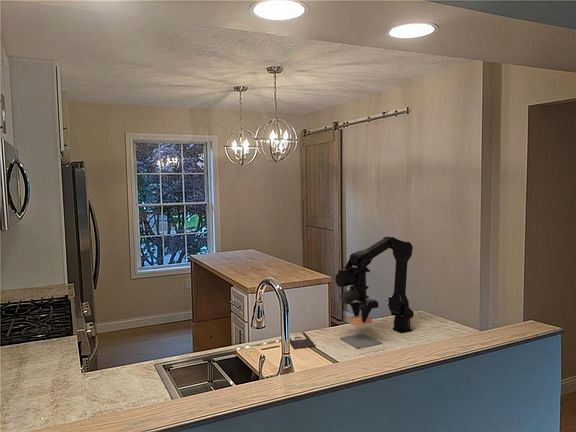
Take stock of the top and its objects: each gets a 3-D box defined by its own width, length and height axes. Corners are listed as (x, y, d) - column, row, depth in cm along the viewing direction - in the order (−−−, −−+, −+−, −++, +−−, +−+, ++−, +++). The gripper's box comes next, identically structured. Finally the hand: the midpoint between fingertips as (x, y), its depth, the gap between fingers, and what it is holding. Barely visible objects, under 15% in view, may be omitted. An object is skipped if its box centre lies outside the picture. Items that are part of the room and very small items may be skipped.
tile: (348, 323, 187) (348, 317, 187) (365, 320, 191) (364, 314, 190) (355, 326, 183) (355, 320, 183) (371, 323, 186) (371, 317, 186)
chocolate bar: (294, 347, 180) (284, 334, 198) (294, 350, 180) (284, 336, 198) (315, 345, 182) (304, 332, 200) (315, 347, 182) (304, 334, 200)
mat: (363, 334, 196) (363, 333, 196) (382, 343, 183) (382, 342, 183) (339, 338, 191) (339, 337, 191) (357, 348, 178) (357, 347, 178)
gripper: (331, 281, 191) (332, 318, 192) (354, 290, 174) (355, 329, 175) (353, 278, 195) (354, 314, 196) (378, 286, 178) (379, 325, 179)
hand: (360, 320), depth 187 cm, fingers closed on tile, 5 cm apart
